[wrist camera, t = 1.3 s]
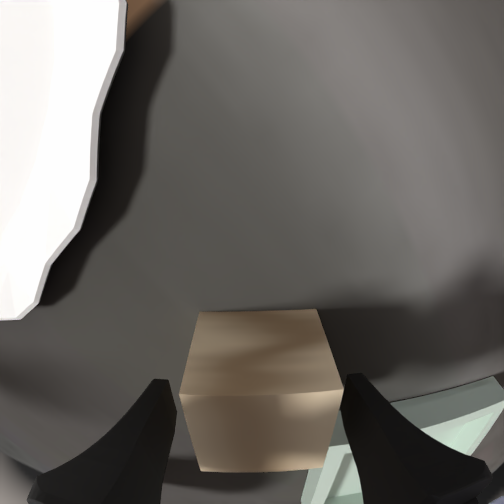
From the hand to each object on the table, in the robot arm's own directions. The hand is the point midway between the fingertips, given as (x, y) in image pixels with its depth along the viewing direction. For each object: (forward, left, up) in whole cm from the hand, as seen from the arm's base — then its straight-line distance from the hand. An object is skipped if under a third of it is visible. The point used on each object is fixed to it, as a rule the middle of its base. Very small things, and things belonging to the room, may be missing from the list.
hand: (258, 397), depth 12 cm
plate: (+17, -14, -3) cm, 22 cm away
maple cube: (0, 0, -3) cm, 3 cm away
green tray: (-10, +11, -3) cm, 15 cm away
